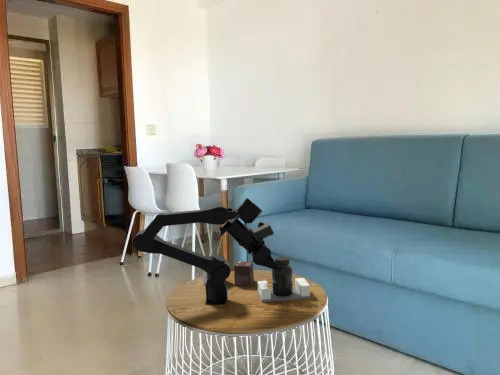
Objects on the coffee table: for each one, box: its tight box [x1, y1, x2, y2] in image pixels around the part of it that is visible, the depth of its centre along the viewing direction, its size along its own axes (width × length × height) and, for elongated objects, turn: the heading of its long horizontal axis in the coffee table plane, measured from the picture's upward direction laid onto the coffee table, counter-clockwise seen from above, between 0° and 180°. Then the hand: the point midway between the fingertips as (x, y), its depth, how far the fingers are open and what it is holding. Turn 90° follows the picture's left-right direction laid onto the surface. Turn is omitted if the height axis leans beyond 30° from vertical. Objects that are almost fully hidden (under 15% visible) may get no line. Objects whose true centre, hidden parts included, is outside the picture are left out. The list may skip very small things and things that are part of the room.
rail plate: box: [257, 277, 311, 303], centre depth 140 cm, size 16×9×4 cm, turn 97°
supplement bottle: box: [271, 256, 294, 297], centre depth 140 cm, size 7×7×12 cm
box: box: [233, 260, 255, 287], centre depth 154 cm, size 6×6×7 cm
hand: (275, 265), depth 139 cm, fingers open, 9 cm apart
